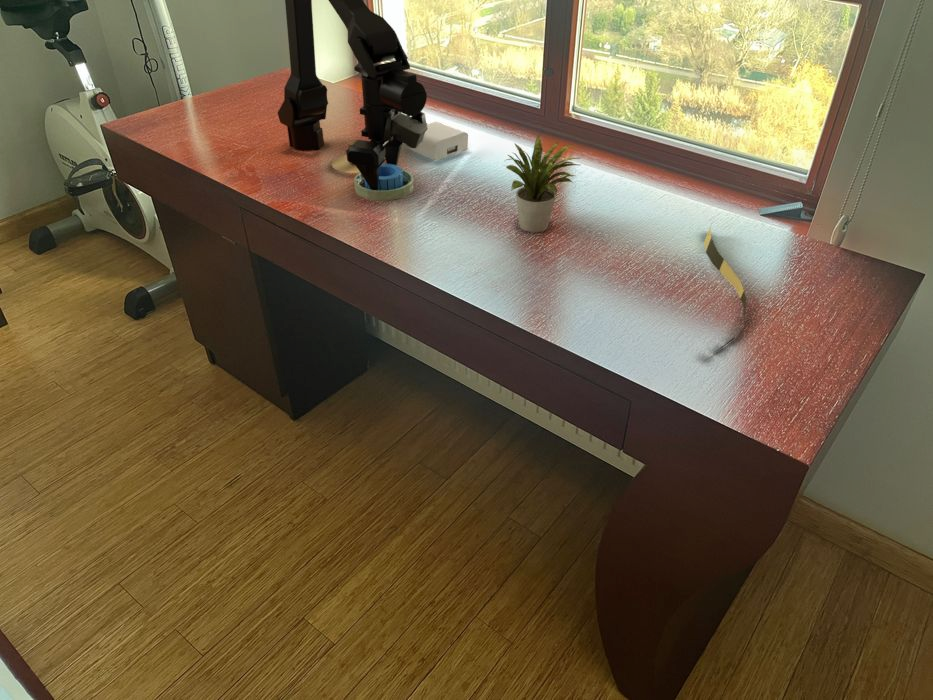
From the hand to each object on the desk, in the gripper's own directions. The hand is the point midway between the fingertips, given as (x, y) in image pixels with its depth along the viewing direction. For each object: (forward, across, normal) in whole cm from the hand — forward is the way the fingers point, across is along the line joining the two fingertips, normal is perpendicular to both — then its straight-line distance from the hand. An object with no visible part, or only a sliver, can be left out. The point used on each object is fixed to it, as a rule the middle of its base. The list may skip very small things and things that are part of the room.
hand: (384, 181), depth 144 cm
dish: (+2, 0, 0) cm, 2 cm away
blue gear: (+2, 0, 0) cm, 2 cm away
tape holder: (+2, +9, +10) cm, 14 cm away
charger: (+2, +23, -1) cm, 23 cm away
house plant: (+2, -6, -31) cm, 32 cm away
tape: (+2, -17, -63) cm, 65 cm away
